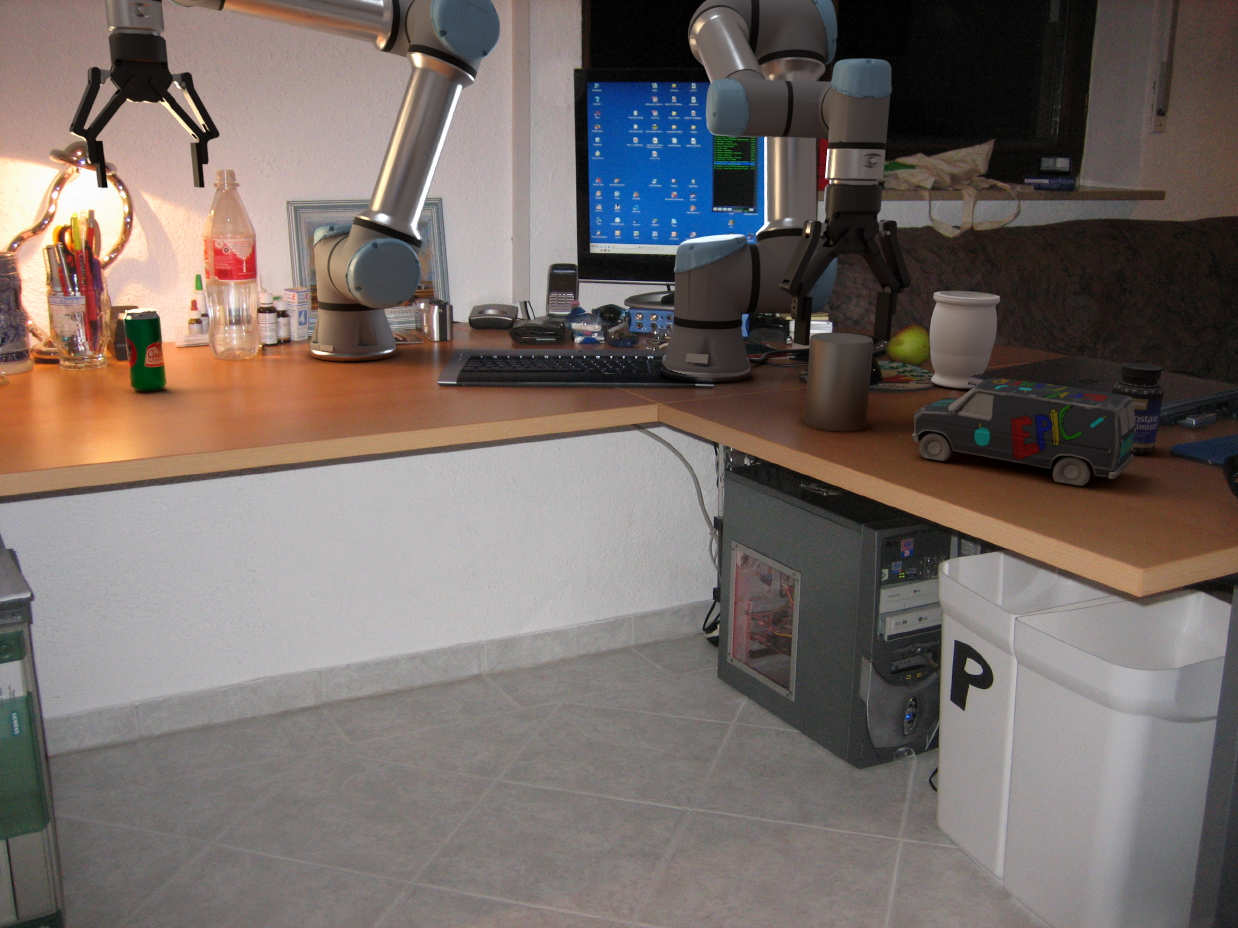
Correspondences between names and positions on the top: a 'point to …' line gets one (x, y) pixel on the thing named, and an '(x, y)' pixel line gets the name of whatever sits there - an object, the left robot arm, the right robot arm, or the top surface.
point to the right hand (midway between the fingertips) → (842, 342)
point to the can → (838, 381)
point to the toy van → (1033, 428)
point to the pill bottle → (1142, 401)
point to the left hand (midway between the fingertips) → (152, 188)
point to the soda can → (145, 349)
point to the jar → (962, 336)
